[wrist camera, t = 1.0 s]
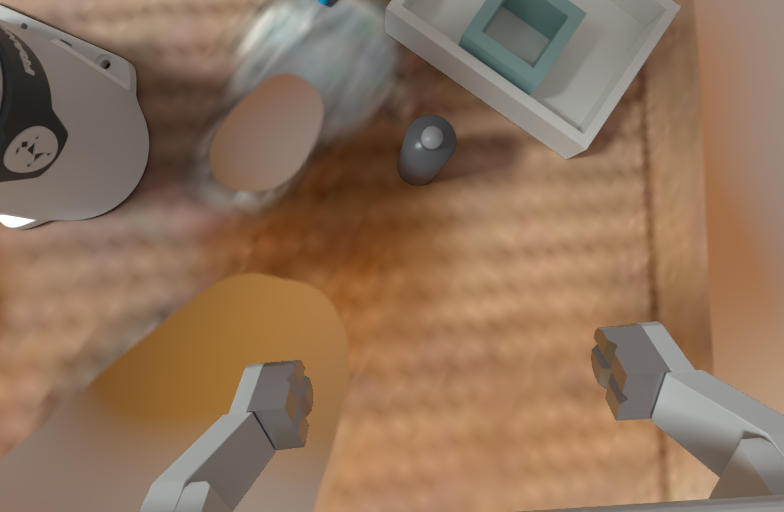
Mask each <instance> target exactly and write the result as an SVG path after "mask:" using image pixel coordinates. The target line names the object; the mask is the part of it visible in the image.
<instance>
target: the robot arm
mask: <svg viewBox="0 0 784 512" xmlns="http://www.w3.org/2000/svg"><path fill="white" fill-rule="evenodd" d="M109 63H110V67H109V68H108V69H106V65H107V64H109ZM136 87H137V80H136V71H135V68H134V66H133V65H132V64H131V63H130V62H128V61H127V60H125V59H123V58H122V57H119V56H117V55H115V54H113V53H110V52H108V51H106V50H103V49H101V48H99V47H96V46H94V45H92V44H89V43H87V42H85V41H83V40H80V39H78V38H76V37H73V36H71V35H69V34H66V33H64V32H62V31H59V30H57V29H55V28H53V27H50V26H48V25H46V24H43V23H41V22H39V21H36V20H34V19H32V18H29V17H27V16H25V15H23V14H20V13H18V12H16V11H13V10H11V9H9V8H6V7H4V6H2V5H0V222H1V223H2V224H3V225H5V226H6V227H9V228H13V229H18V230H24V229H29V228H32V227H35V226H37V225H40V224H42V223H45V222H47V221H52V220H83V219H88V218H92V217H95V216H98V215H101V214H103V213H105V212H107V211H109V210H111V209H113V208H114V207H116V206H117V205H119V204H120V203H121V202H122V201H124V200H125V199H126V198H127V197H128V196H129V195H130V193H131V192H132V191H133V190H134V188H135V187H136V186H137V184H138V183H139V181H140V179H141V177H142V175H143V173H144V170H145V167H146V164H147V159H148V153H149V135H148V129H147V125H146V121H145V118H144V116H143V113H142V111H141V109H140V106H139V104H138V101H137V97H136ZM594 339H595V341H596V343H597V345H596V346H595V347H594V348H593V349H592V354H591V361H592V368H593V372H594V375H595V377H596V379H597V382H598V384H599V385H601V386H602V387H604V388H605V389H607V392H606V397H605V399H606V401H607V403H608V405H609V407H610V409H611V411H612V413H613V415H614V417H615V420H616V421H619V420H636V419H651V421H652V422H653V423H655V424H656V425H657V426H658V427H659V428H661V429H662V430H663V431H664V432H665V433H667V434H668V435H669V436H670V437H671V438H673V439H674V440H675V441H676V442H678V443H679V444H680V445H681V446H682V447H684V448H685V449H686V450H687V451H688V452H690V453H691V454H692V455H693V456H694V457H696V458H697V459H698V460H699V461H700V462H702V463H703V464H704V465H705V466H706V467H708V468H709V469H710V470H711V471H712V472H714V473H715V474H716V475H717V476H718V477H720V478H719V480H718V482H717V484H716V486H715V488H714V489H713V491H712V493H711V495H710V497H709V499H704V500H689V501H674V502H658V503H643V504H628V505H613V506H597V507H582V508H566V509H551V510H535V511H519V512H784V415H782V414H780V413H778V412H777V411H775V410H773V409H771V408H769V407H768V406H766V405H764V404H762V403H761V402H759V401H757V400H755V399H753V398H752V397H750V396H748V395H746V394H744V393H743V392H741V391H739V390H737V389H736V388H734V387H732V386H730V385H729V384H727V383H725V382H723V381H721V380H719V379H718V378H716V377H714V376H713V375H711V374H709V373H707V372H705V371H704V370H695V368H694V367H693V366H692V364H691V363H690V362H689V360H688V359H687V358H686V356H685V355H684V353H683V352H682V351H681V349H680V348H679V347H678V345H677V344H676V343H675V341H674V340H673V338H672V337H671V336H670V334H669V333H668V332H667V330H666V329H665V328H664V326H663V325H662V324H661V323H660V322H658V321H654V322H645V323H637V324H635V323H634V324H625V325H617V326H608V327H600V328H597V329H596V331H595V335H594ZM304 370H305V367H304V365H303V363H302V361H301V360H295V361H281V362H270V363H260V364H249V365H248V366H247V367H246V369H245V370H244V373H243V376H242V379H241V381H240V384H239V387H238V389H237V392H236V395H235V397H234V400H233V403H232V406H231V408H230V411H229V414H226V415H223V416H222V417H221V418H220V419H219V420H218V421H216V422H215V423H214V424H213V425H212V426H211V427H210V428H209V429H208V430H207V431H206V432H205V433H204V434H203V435H202V436H201V437H200V438H199V439H198V440H197V441H196V442H195V443H194V444H193V445H192V446H191V447H190V448H189V449H188V450H187V451H186V452H185V453H184V454H182V455H181V456H180V457H179V458H178V459H177V460H176V461H175V462H174V463H173V464H172V465H171V466H170V467H169V468H168V469H167V470H166V471H165V472H164V473H163V474H162V475H161V476H160V477H159V478H158V479H157V480H156V481H155V482H154V483H153V484H152V486H151V488H150V490H149V492H148V494H147V496H146V498H145V501H144V503H143V505H142V507H141V509H140V511H139V512H233V511H234V509H235V508H236V506H237V505H238V504H239V502H240V501H241V500H242V498H243V497H244V495H245V494H246V493H247V491H248V490H249V489H250V487H251V486H252V484H253V483H254V481H255V480H256V479H257V477H258V476H259V475H260V473H261V472H262V470H263V469H264V468H265V466H266V465H267V463H268V462H269V461H270V459H271V458H272V457H273V455H274V454H275V453H276V451H275V450H283V449H292V448H300V447H305V443H306V438H307V433H308V427H309V424H308V422H307V420H306V417H307V416H308V414H309V413H310V412H311V411H312V406H313V389H312V384H311V381H310V379H309V378H308V377H307V376H305V375H304Z"/></svg>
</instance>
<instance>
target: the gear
mask: <svg viewBox="0 0 784 512" xmlns="http://www.w3.org/2000/svg"><path fill="white" fill-rule="evenodd" d="M318 2H319V3H321V4H329V0H318Z"/></svg>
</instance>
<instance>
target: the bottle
mask: <svg viewBox="0 0 784 512" xmlns="http://www.w3.org/2000/svg"><path fill="white" fill-rule="evenodd" d="M455 147H456V135H455V132H454V129H453V127H452V126H451V125H450V123H449V122H448V121H447V120H445V119H444V118H442V117H440V116H437V115H424V116H421V117H419V118H417V119H415V120H414V121H413V122H412V123H411V124H410V125H409V127H408V129H407V131H406V134H405V138H404V141H403V144H402V148H401V151H400V155H399V158H398V162H397V168H398V172H399V174H400V176H401V178H402V179H403V180H404V181H405V182H407V183H409V184H411V185H415V186H420V185H424V184H427V183H428V182H430V181H431V180H432V179H433V178H434V177H435V175H436V174H437V173H438V172H439V171H440V169H441V168H442V167H443V166H444V164H445V163H446V162H447V161H448V160H449V158H450V157H451V156H452V154H453V153H454V150H455Z"/></svg>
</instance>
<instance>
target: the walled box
mask: <svg viewBox="0 0 784 512" xmlns="http://www.w3.org/2000/svg"><path fill="white" fill-rule="evenodd" d="M680 8H681V6H680V5H678V4H677V3H676V2H674V1H673V0H391V2H390V3H389V5H388V6H387V7H386V18H385V33H387V34H388V35H390V36H391V37H393V38H394V39H395V40H397V41H398V42H400V43H401V44H403V45H404V46H405V47H407V48H408V49H410V50H411V51H412V52H414V53H415V54H417V55H418V56H420V57H421V58H422V59H424V60H425V61H427V62H428V63H430V64H431V65H432V66H434V67H435V68H437V69H438V70H439V71H441V72H442V73H444V74H445V75H447V76H448V77H449V78H451V79H452V80H454V81H455V82H457V83H458V84H459V85H461V86H462V87H464V88H465V89H466V90H468V91H469V92H471V93H472V94H474V95H475V96H476V97H478V98H479V99H481V100H482V101H484V102H485V103H486V104H488V105H489V106H491V107H492V108H493V109H495V110H496V111H498V112H499V113H501V114H502V115H503V116H505V117H506V118H508V119H509V120H510V121H512V122H513V123H515V124H516V125H518V126H519V127H520V128H522V129H523V130H525V131H526V132H528V133H529V134H530V135H532V136H533V137H535V138H536V139H537V140H539V141H540V142H542V143H543V144H545V145H546V146H547V147H549V148H550V149H552V150H553V151H555V152H556V153H557V154H559V155H560V156H562V157H563V158H564V159H568V158H570V157H572V156H575V155H577V154H579V153H581V152H583V151H585V150H587V148H588V147H589V145H590V144H591V142H592V141H593V139H594V138H595V136H596V135H597V133H598V132H599V130H600V129H601V127H602V126H603V124H604V123H605V121H606V120H607V118H608V117H609V115H610V114H611V112H612V111H613V109H614V108H615V106H616V105H617V103H618V101H619V100H620V98H621V97H622V95H623V94H624V92H625V91H626V89H627V88H628V86H629V85H630V83H631V82H632V80H633V79H634V77H635V76H636V74H637V73H638V71H639V70H640V68H641V67H642V65H643V64H644V62H645V61H646V59H647V58H648V56H649V55H650V53H651V52H652V50H653V49H654V47H655V46H656V44H657V43H658V41H659V40H660V38H661V37H662V35H663V34H664V32H665V31H666V29H667V28H668V26H669V25H670V23H671V22H672V20H673V19H674V17H675V16H676V14H677V13H678V11H679V10H680Z"/></svg>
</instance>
